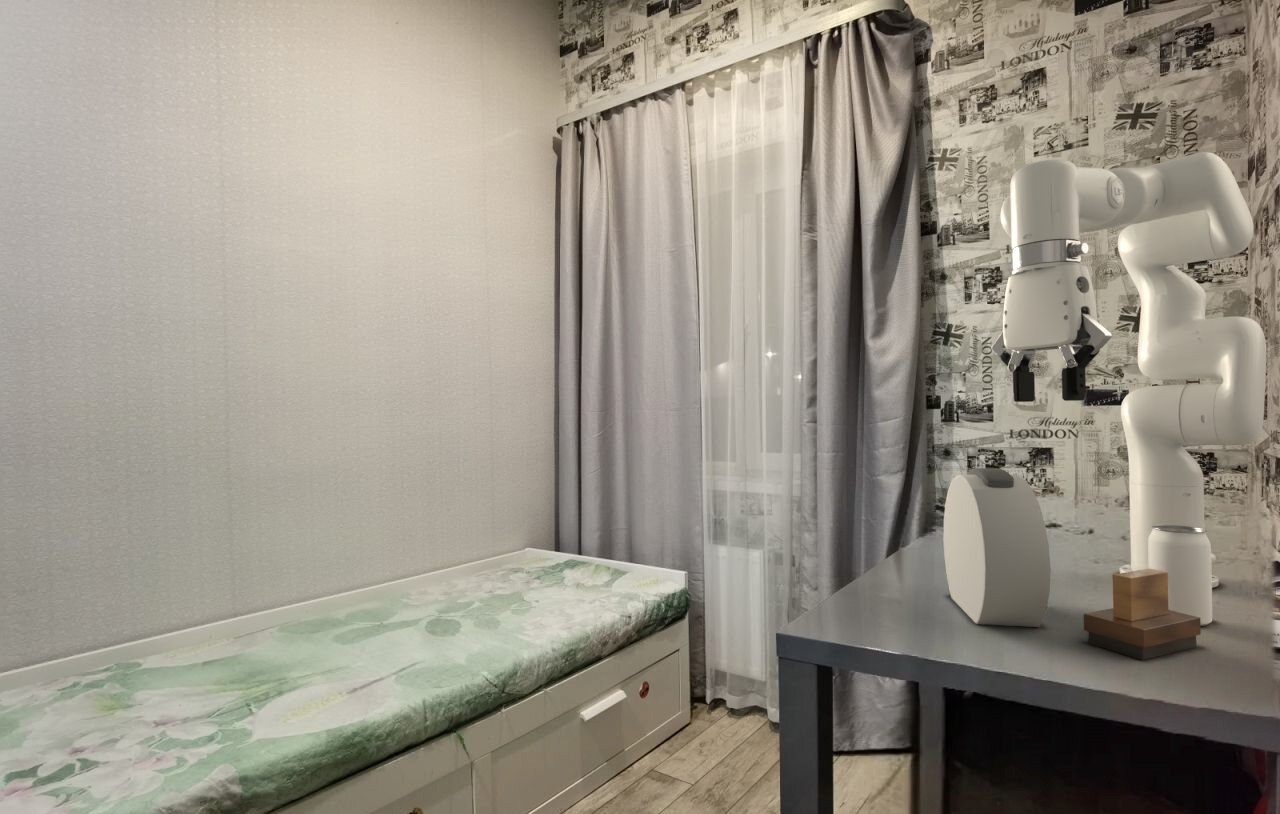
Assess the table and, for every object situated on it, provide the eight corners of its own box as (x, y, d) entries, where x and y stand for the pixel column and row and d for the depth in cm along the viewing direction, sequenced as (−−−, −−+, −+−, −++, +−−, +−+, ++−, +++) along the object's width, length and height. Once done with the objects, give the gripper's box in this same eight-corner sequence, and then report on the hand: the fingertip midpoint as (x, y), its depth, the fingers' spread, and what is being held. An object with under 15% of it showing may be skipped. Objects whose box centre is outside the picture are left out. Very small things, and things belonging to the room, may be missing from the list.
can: (1153, 608, 92) (1152, 522, 92) (1215, 618, 88) (1213, 527, 88) (1145, 619, 88) (1143, 528, 88) (1209, 630, 83) (1207, 534, 83)
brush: (1139, 630, 83) (1138, 563, 83) (1201, 647, 77) (1199, 574, 77) (1084, 642, 79) (1082, 571, 79) (1144, 661, 73) (1142, 584, 73)
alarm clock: (1052, 637, 81) (1049, 475, 81) (986, 634, 83) (983, 475, 83) (995, 591, 102) (993, 462, 102) (943, 589, 103) (941, 462, 104)
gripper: (1135, 247, 79) (1138, 399, 79) (1006, 276, 95) (1009, 402, 95) (1093, 242, 76) (1096, 399, 76) (967, 273, 92) (970, 402, 92)
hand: (1048, 399), depth 85 cm, fingers open, 6 cm apart
